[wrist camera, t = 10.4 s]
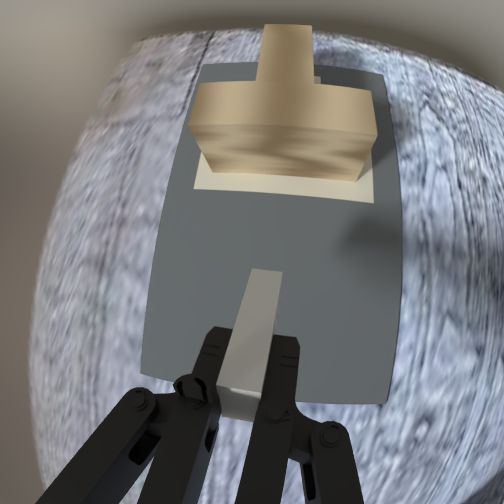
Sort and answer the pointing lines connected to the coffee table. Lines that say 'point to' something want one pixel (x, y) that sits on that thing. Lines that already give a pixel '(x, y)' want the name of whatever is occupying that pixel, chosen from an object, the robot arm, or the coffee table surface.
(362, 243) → the mat
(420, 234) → the coffee table surface
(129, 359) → the coffee table surface
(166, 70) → the coffee table surface
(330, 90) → the t block
